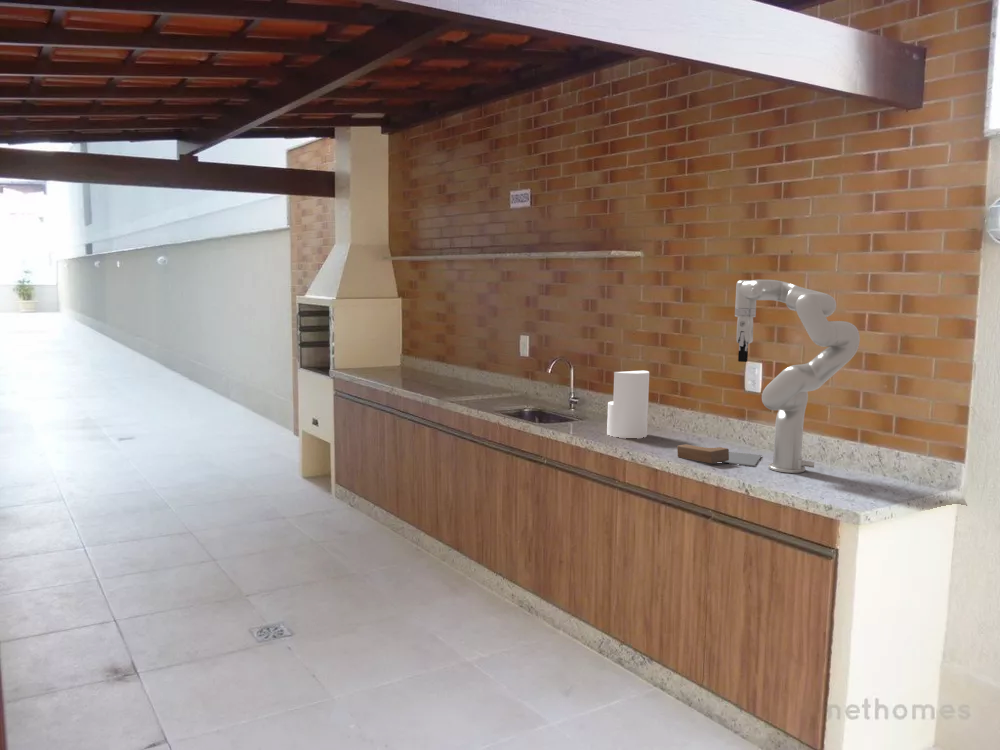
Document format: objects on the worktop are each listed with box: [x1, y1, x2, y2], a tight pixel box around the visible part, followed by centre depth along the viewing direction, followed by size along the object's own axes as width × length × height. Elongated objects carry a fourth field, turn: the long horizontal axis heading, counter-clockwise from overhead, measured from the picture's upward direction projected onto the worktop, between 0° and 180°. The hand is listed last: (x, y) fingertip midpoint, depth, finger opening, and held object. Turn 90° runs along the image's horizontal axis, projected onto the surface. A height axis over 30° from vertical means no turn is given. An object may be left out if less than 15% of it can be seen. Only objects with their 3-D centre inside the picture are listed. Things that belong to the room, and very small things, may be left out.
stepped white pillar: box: [606, 370, 650, 439], centre depth 356 cm, size 17×17×28 cm
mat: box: [721, 451, 763, 468], centre depth 312 cm, size 20×20×1 cm
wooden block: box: [676, 443, 730, 464], centre depth 308 cm, size 9×4×18 cm
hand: (742, 361), depth 310 cm, fingers closed
